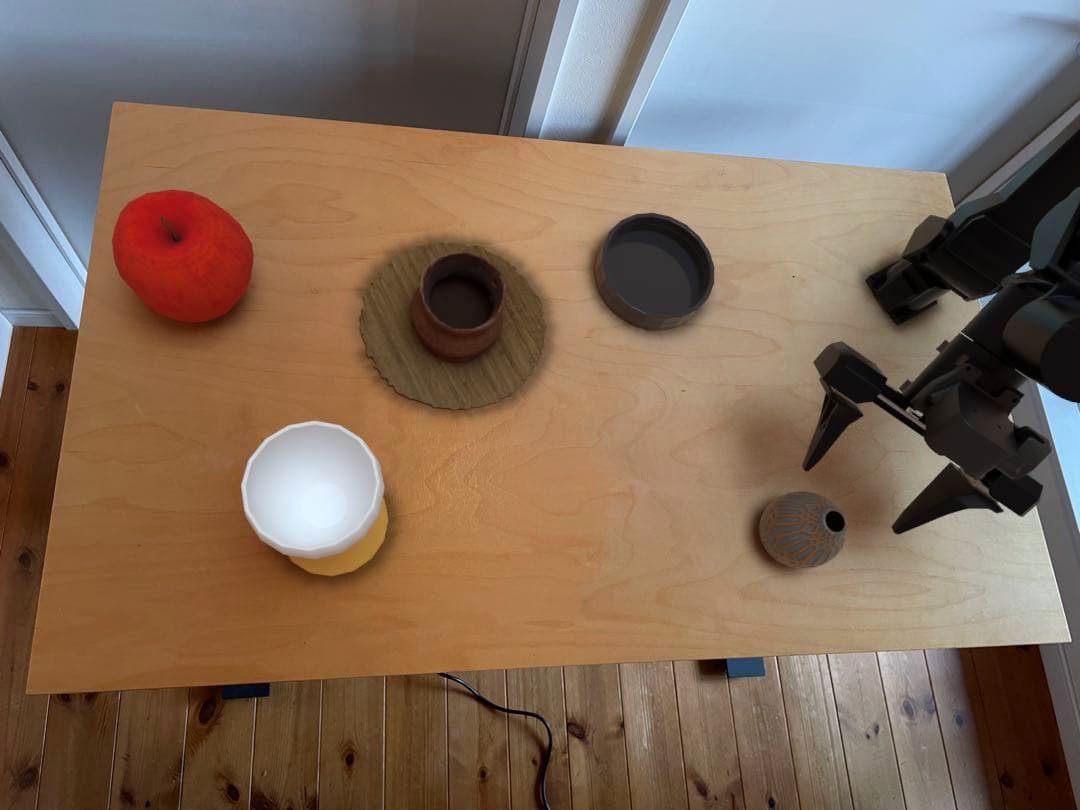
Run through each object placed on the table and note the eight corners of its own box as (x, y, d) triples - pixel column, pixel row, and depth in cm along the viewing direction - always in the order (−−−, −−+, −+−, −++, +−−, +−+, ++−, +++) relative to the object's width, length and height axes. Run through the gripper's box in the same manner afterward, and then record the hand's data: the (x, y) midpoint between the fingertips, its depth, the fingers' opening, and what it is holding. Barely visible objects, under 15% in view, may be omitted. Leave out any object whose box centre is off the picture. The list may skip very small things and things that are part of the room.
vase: (819, 514, 67) (878, 498, 58) (807, 581, 64) (866, 574, 56) (756, 489, 66) (806, 469, 58) (741, 556, 64) (791, 545, 55)
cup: (280, 470, 58) (240, 415, 43) (388, 468, 60) (386, 415, 45) (274, 579, 55) (228, 560, 40) (387, 573, 57) (384, 554, 42)
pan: (663, 214, 74) (674, 197, 71) (722, 303, 72) (736, 290, 69) (573, 252, 70) (580, 236, 68) (632, 348, 68) (642, 336, 65)
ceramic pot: (548, 255, 70) (563, 216, 63) (543, 418, 64) (560, 394, 57) (370, 231, 67) (367, 188, 60) (348, 401, 61) (342, 373, 54)
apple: (270, 251, 64) (243, 169, 53) (260, 347, 61) (229, 282, 49) (156, 242, 62) (102, 155, 51) (139, 341, 59) (78, 272, 47)
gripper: (921, 304, 44) (764, 476, 50) (1161, 468, 43) (974, 621, 50) (881, 279, 54) (756, 424, 60) (1075, 412, 54) (929, 545, 60)
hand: (849, 500), depth 57 cm, fingers open, 9 cm apart
